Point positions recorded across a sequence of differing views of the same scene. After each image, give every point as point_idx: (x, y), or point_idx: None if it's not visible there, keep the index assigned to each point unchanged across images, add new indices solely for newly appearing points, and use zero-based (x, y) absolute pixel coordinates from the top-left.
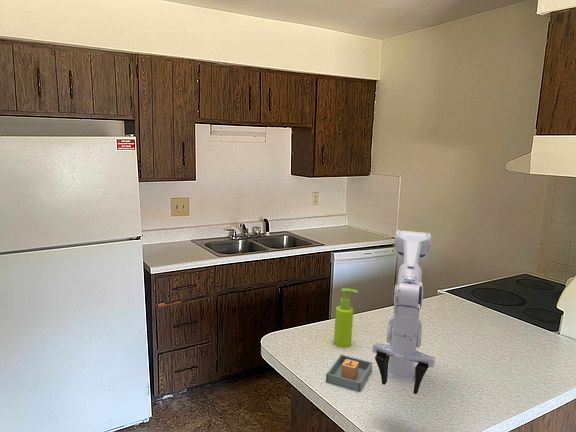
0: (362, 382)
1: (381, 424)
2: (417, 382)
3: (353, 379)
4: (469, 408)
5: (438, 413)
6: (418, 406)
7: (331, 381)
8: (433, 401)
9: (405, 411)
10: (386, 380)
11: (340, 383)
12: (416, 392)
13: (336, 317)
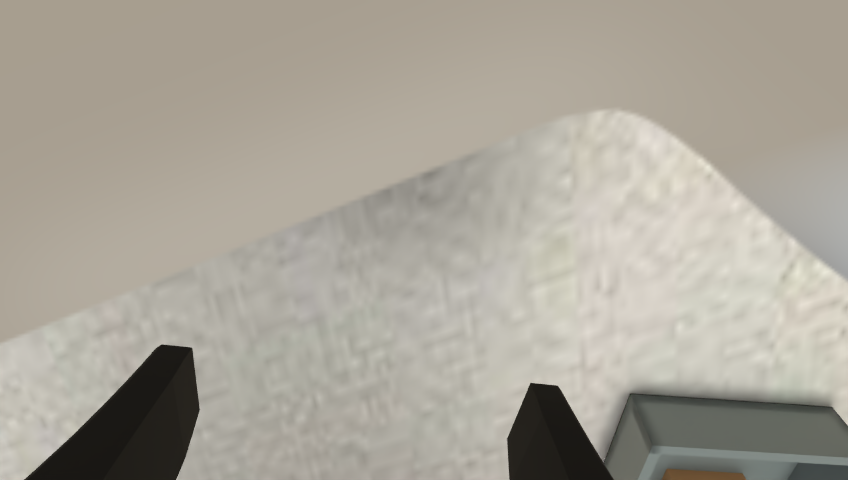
0: (630, 462)
1: (481, 179)
2: (62, 475)
3: (673, 475)
4: None
5: None
6: (302, 399)
7: (813, 423)
8: (240, 456)
9: (360, 340)
10: (516, 449)
11: (759, 422)
12: (147, 361)
13: None
